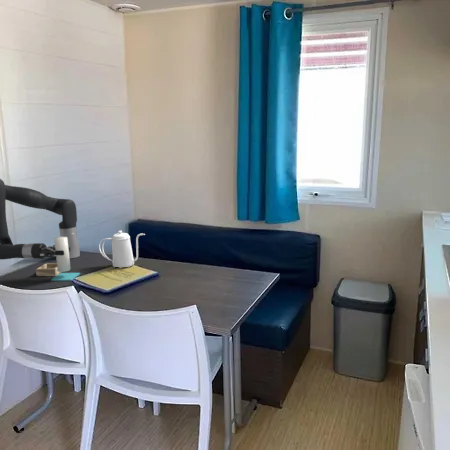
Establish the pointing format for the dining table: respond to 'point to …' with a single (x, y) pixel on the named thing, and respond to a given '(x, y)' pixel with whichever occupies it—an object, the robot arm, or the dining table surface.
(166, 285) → the dining table surface
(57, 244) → the white cylinder
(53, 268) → the holder
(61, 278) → the mat
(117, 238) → the coffeepot
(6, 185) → the robot arm
